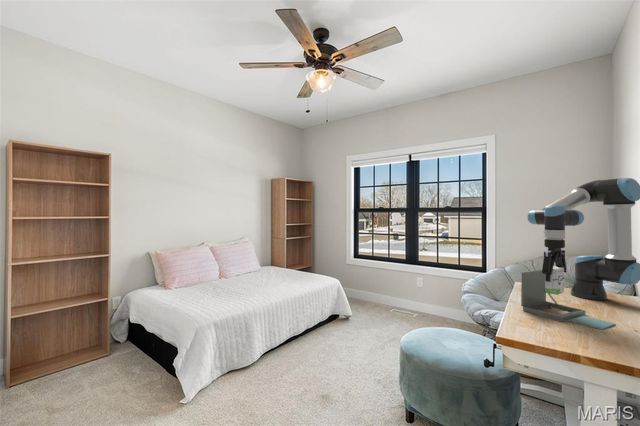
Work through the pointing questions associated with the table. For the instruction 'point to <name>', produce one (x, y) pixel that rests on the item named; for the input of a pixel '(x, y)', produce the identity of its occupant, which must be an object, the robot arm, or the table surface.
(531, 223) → the robot arm
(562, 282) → the ink box
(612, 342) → the table surface
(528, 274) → the case
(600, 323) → the mat
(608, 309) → the table surface
